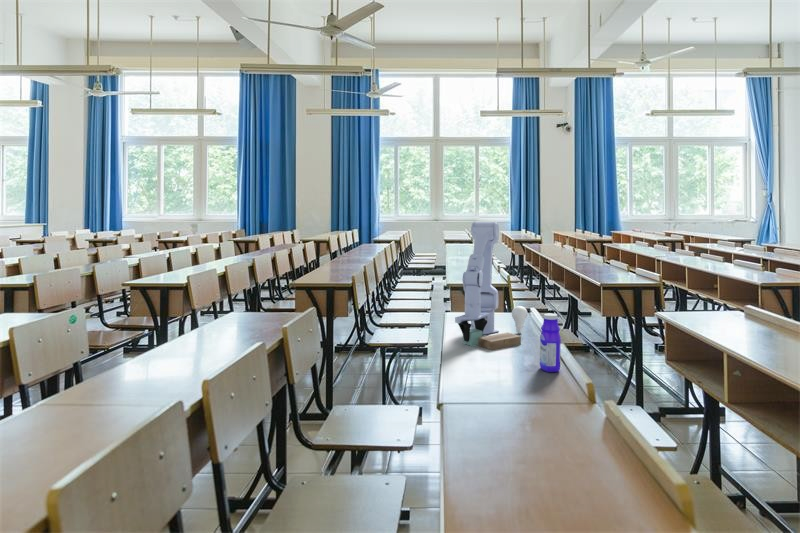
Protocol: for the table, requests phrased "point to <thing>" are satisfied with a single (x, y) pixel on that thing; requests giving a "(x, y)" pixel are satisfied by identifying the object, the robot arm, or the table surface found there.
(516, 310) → the lightbulb
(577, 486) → the table surface
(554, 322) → the bottle
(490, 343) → the pencil box
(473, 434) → the table surface
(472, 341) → the teal cube
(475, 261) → the robot arm
